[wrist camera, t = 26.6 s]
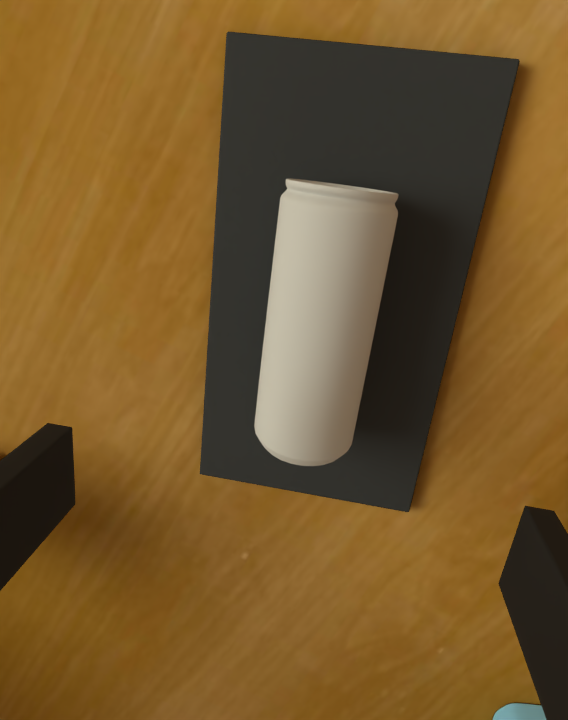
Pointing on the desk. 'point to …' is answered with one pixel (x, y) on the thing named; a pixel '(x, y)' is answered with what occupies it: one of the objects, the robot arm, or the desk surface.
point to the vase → (520, 712)
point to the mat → (409, 247)
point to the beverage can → (321, 317)
